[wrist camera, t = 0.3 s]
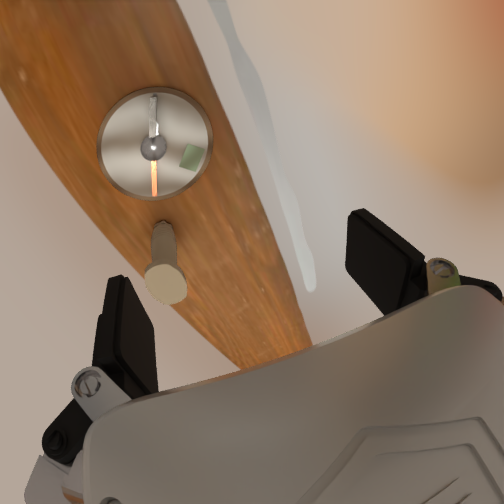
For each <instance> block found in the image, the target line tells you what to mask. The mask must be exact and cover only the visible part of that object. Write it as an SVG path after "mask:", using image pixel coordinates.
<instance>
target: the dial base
mask: <svg viewBox="0 0 504 504" xmlns="http://www.w3.org/2000/svg"><path fill="white" fill-rule="evenodd" d="M151 96H158V100H157V122H158V135H161V136H162V137H163V138H164V139H165V141H166V145H167V149H166V153H165V155H164V156H163V157H162V158H161V159H159V160H157V161H156V173H157V196H152V171H151V161H148V160H146V159H145V158H144V157H143V156H142V154H141V151H140V147H141V144H142V141H143V140H144V138H145V137H147V136H148V135H149V106H150V97H151ZM212 148H213V133H212V127H211V124H210V121H209V119H208V117H207V115H206V113H205V111H204V110H203V108H202V107H201V106H200V105H199V104H198V103H197V102H196V101H195V100H194V99H193V98H191V97H190V96H188V95H187V94H185V93H183V92H181V91H178V90H175V89H172V88H166V87H151V88H145V89H141V90H138V91H135V92H133V93H131V94H129V95H127V96H125V97H124V98H123V99H121V100H120V101H119V102H117V103H116V104H115V105H114V106H113V107H112V108H111V110H110V111H109V112H108V113H107V115H106V117H105V118H104V120H103V122H102V124H101V127H100V129H99V133H98V137H97V157H98V161H99V165H100V167H101V170H102V172H103V174H104V175H105V177H106V178H107V180H108V181H109V182H110V183H111V184H112V185H113V186H114V187H115V188H116V189H117V190H119V191H120V192H122V193H124V194H125V195H127V196H130V197H133V198H136V199H140V200H147V201H156V200H163V199H167V198H171V197H173V196H176V195H178V194H180V193H182V192H184V191H185V190H186V189H188V188H189V187H191V186H192V185H193V184H194V183H195V182H196V181H197V180H198V179H199V178H200V176H201V175H202V174H203V172H204V171H205V169H206V167H207V165H208V163H209V160H210V157H211V154H212Z"/></svg>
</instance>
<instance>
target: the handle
mask: <svg viewBox="0 0 504 504" xmlns="http://www.w3.org/2000/svg"><path fill="white" fill-rule="evenodd" d="M151 253H152V263H150V264H149V265H148V266H147V267H146V269H145V284H146V288H147V290H148V291H149V293H150V294H151V295H152V297H153V298H154V299H156V300H157V301H159V302H161V303H163V304H166V305H169V304H175V303H177V302H180V301H181V300H183V299H184V298H185V297H186V296H187V282H186V278H185V276H184V273H183V271H182V270H181V268H180V267H179V266H177V245H176V239H175V235H174V232H173V227H172V225H171V224H168V223H166V222H165V221H161V222H160V223H156V224H155V226H154V231H153V233H152V238H151Z"/></svg>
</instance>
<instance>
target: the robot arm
mask: <svg viewBox="0 0 504 504" xmlns="http://www.w3.org/2000/svg"><path fill="white" fill-rule="evenodd" d="M347 224H348V225H347V246H346V261H345V267H346V270H347V272H348V273H349V275H350V276H351V277H352V278H353V279H354V280H355V282H356V283H357V284H358V285H359V286H360V287H361V288H362V290H363V291H364V292H365V293H366V294H367V295H368V297H369V298H370V299H371V300H372V301H373V302H374V304H375V305H376V306H377V307H378V309H379V310H380V311H381V312H382V313H383V314H384V316H383V317H381V318H379V319H377V320H374V321H372V322H370V323H367V324H365V325H363V326H361V327H358V328H356V329H354V330H351V331H349V332H346V333H344V334H341V335H339V336H336V337H334V338H332V339H329V340H327V341H324V342H321V343H319V344H316V345H313V346H311V347H308V348H305V349H303V350H300V351H297V352H294V353H291V354H289V355H286V356H283V357H280V358H277V359H274V360H271V361H268V362H265V363H262V364H259V365H256V366H253V367H249V368H246V369H243V370H240V371H236V372H233V373H229V374H226V375H222V376H219V377H215V378H212V379H208V380H204V381H201V382H197V383H193V384H190V385H185V386H181V387H177V388H173V389H169V390H165V391H161V392H159V391H158V380H157V368H156V356H155V340H154V328H153V325H152V322H151V320H150V319H149V317H148V315H147V313H146V311H145V309H144V307H143V305H142V304H141V302H140V300H139V298H138V296H137V294H136V292H135V290H134V288H133V286H132V284H131V282H130V280H129V278H128V277H124V276H123V275H118V276H115V277H111V278H109V279H108V283H107V288H106V293H105V299H104V305H103V311H102V314H100V315H99V317H98V322H97V329H96V336H95V343H94V351H93V360H92V366H91V367H86V368H84V369H82V370H81V371H79V372H78V373H77V374H76V376H75V377H74V379H73V381H72V385H71V391H72V395H73V397H74V399H73V400H72V401H71V402H70V403H69V404H68V405H67V407H66V408H65V409H64V410H63V411H62V412H61V413H60V415H59V416H58V417H57V418H56V419H55V420H54V421H53V422H52V423H51V425H50V426H49V427H48V428H47V429H46V431H45V432H44V434H43V437H42V447H43V450H44V455H43V456H41V455H39V458H38V460H37V462H36V465H35V467H34V469H33V471H32V474H31V476H30V479H29V481H28V484H27V486H26V489H25V493H24V497H25V502H26V504H504V297H503V296H502V292H501V290H500V289H499V288H498V287H497V286H496V285H495V284H494V283H492V282H489V281H485V280H480V279H476V278H471V277H466V276H462V275H459V273H458V270H457V267H456V266H455V265H454V264H453V263H452V262H450V261H448V260H446V259H443V258H432V259H430V260H429V261H428V262H427V263H426V262H425V261H424V259H425V256H424V255H423V254H422V253H421V252H419V251H418V250H417V249H416V248H415V247H414V246H412V245H411V244H410V243H409V242H407V241H406V240H405V239H404V238H402V237H401V236H400V235H399V234H397V233H396V232H395V231H393V230H392V229H391V228H390V227H388V226H387V225H386V224H384V223H383V222H382V221H381V220H379V219H378V218H377V217H375V216H374V215H373V214H371V213H370V212H369V211H367V210H366V209H364V208H363V209H358V210H354V211H352V212H351V214H350V215H349V216H348V223H347Z"/></svg>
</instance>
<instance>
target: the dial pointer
mask: <svg viewBox="0 0 504 504" xmlns="http://www.w3.org/2000/svg"><path fill="white" fill-rule="evenodd" d="M157 100H158V96H151V97H150V106H149V135H148V136H147V137H145V138H144V140H143V141H142V144H141V147H140V151H141V154H142V156H143V157H144V158H145V159H146V160H148V161H151V171H152V196H157V173H156V161H157V160H159V159H161V158H162V157H163V156H164V155H165V153H166V149H167V145H166V141H165V139H164V138H163V137H162V136H161V135H158V122H157Z"/></svg>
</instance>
